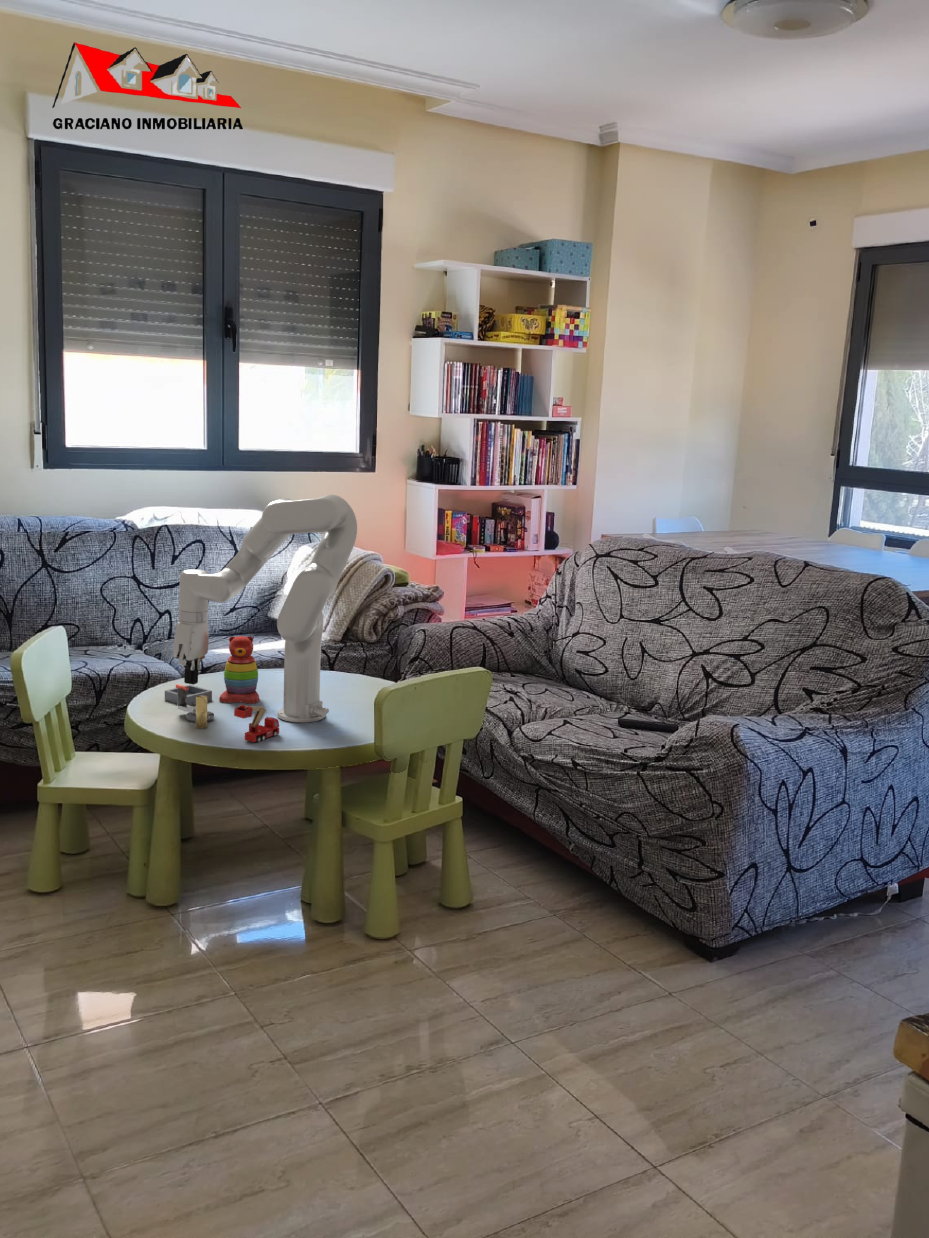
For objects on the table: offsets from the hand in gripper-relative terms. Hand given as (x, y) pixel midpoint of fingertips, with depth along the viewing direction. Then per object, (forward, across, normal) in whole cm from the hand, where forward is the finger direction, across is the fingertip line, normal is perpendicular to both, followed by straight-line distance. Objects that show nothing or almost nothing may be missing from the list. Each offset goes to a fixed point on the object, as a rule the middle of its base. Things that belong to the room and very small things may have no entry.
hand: (191, 683), depth 292 cm
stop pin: (+7, +13, +12) cm, 19 cm away
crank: (+6, +6, +4) cm, 9 cm away
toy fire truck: (+6, +15, +30) cm, 34 cm away
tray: (+7, -7, -5) cm, 11 cm away
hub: (+7, +7, +8) cm, 13 cm away
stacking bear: (+7, -15, +6) cm, 18 cm away
